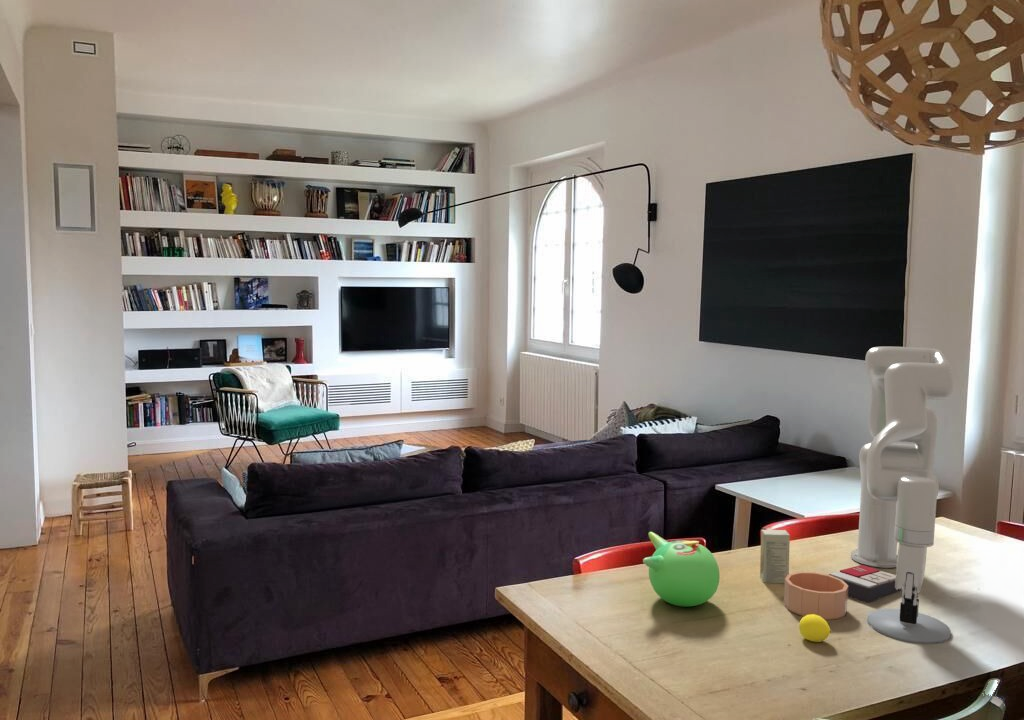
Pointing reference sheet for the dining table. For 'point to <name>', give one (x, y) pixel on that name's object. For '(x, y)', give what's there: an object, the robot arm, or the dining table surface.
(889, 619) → the lid
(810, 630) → the lemon
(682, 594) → the toy bird
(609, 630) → the dining table surface
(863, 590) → the calculator
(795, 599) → the bowl
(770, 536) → the skincare box
